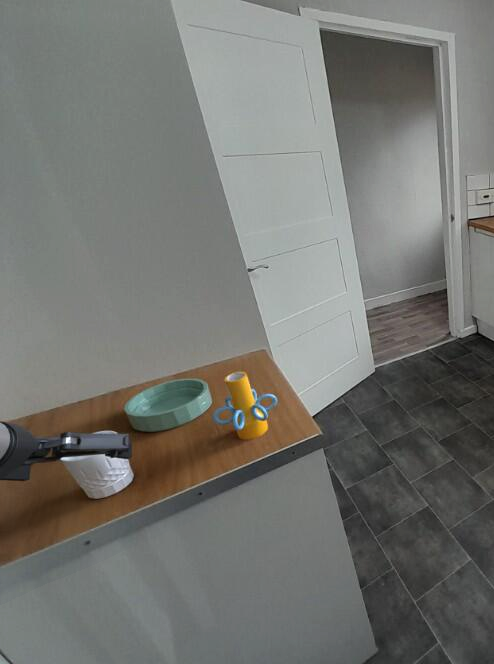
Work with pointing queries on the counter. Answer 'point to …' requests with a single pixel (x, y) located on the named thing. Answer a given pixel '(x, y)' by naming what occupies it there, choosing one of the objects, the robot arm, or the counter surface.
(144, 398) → the green bowl
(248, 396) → the yellow vase
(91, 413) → the counter surface
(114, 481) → the white cup
